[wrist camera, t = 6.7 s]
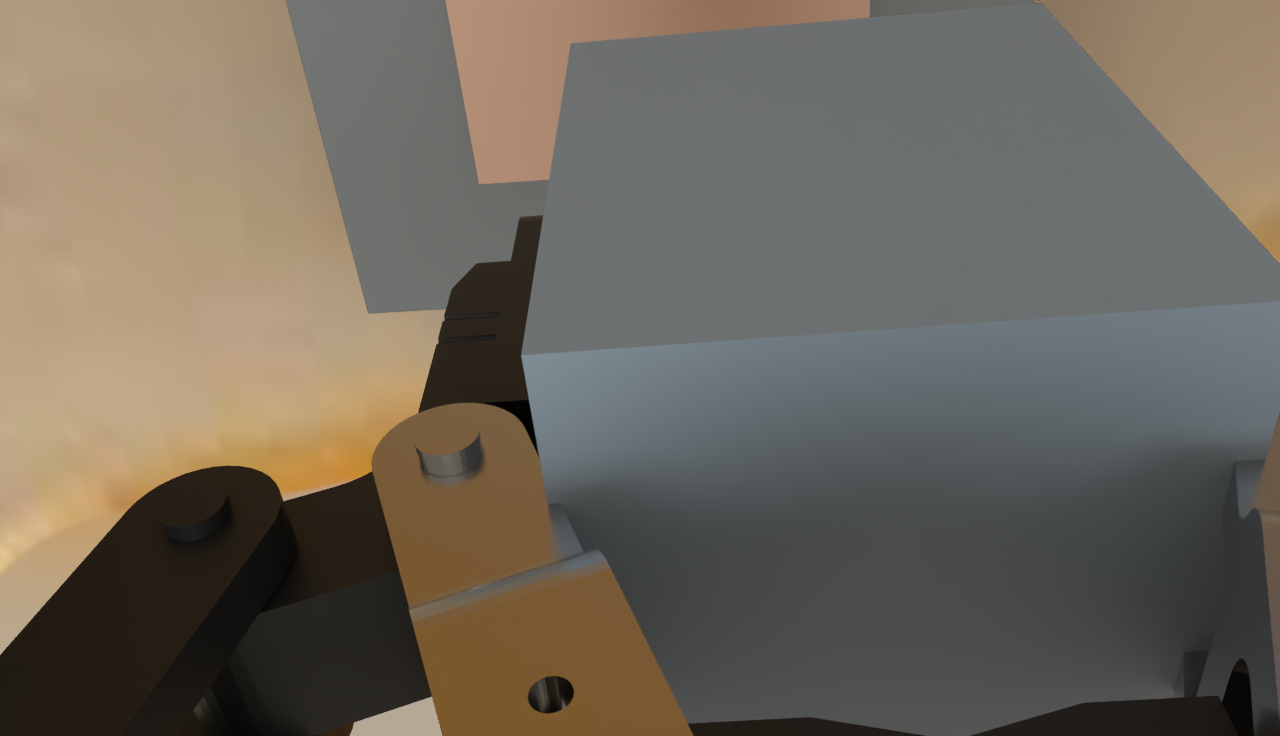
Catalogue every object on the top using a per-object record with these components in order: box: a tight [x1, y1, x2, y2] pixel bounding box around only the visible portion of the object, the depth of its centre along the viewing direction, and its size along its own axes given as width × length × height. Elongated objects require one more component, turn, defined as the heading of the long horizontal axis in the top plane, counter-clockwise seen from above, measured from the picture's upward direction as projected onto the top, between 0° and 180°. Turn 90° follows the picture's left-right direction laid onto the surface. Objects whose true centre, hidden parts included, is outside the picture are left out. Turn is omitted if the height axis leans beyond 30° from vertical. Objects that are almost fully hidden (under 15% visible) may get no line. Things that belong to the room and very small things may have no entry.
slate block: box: [521, 3, 1280, 736], centre depth 11 cm, size 5×5×6 cm
